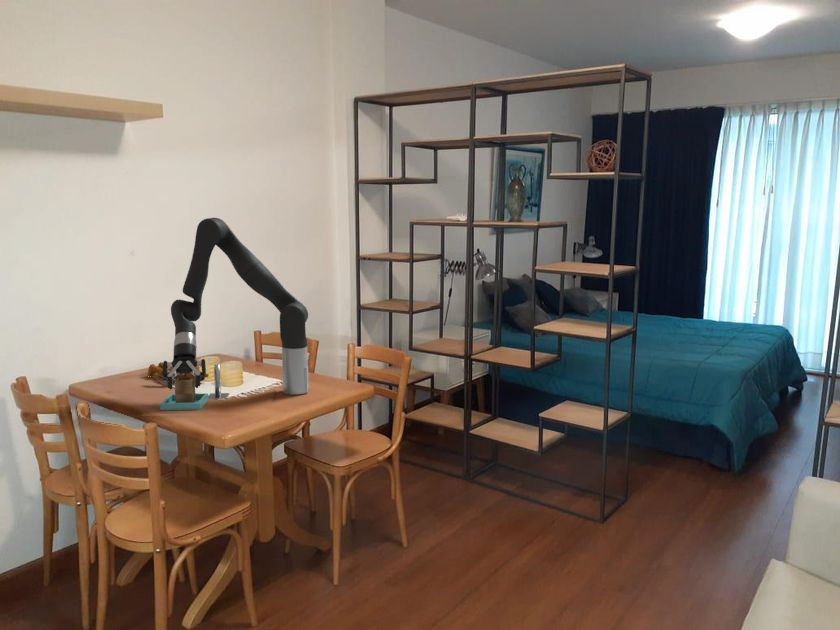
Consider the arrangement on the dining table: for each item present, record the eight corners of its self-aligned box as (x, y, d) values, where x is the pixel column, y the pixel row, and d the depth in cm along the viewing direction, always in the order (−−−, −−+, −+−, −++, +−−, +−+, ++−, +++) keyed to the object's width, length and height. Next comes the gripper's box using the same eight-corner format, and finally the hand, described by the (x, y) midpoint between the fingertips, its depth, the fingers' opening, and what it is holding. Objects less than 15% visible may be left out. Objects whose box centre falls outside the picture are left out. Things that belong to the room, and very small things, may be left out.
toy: (134, 383, 258) (180, 392, 241) (132, 366, 257) (179, 374, 240) (177, 373, 274) (224, 381, 257) (176, 357, 273) (223, 364, 256)
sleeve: (195, 401, 228) (194, 376, 226) (192, 406, 222) (191, 380, 221) (178, 402, 227) (177, 376, 225) (175, 406, 221) (174, 381, 220)
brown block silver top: (229, 394, 239) (228, 362, 237) (226, 399, 232) (224, 367, 230) (210, 394, 238) (209, 362, 236) (205, 400, 231) (204, 367, 230)
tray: (208, 400, 231) (208, 393, 231) (200, 410, 219) (200, 403, 219) (170, 401, 230) (170, 394, 229) (160, 411, 218) (160, 403, 218)
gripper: (162, 342, 226) (160, 383, 217) (205, 341, 230) (205, 380, 221) (164, 354, 232) (162, 394, 223) (206, 352, 236) (206, 391, 227)
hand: (183, 387), depth 222 cm, fingers open, 8 cm apart
